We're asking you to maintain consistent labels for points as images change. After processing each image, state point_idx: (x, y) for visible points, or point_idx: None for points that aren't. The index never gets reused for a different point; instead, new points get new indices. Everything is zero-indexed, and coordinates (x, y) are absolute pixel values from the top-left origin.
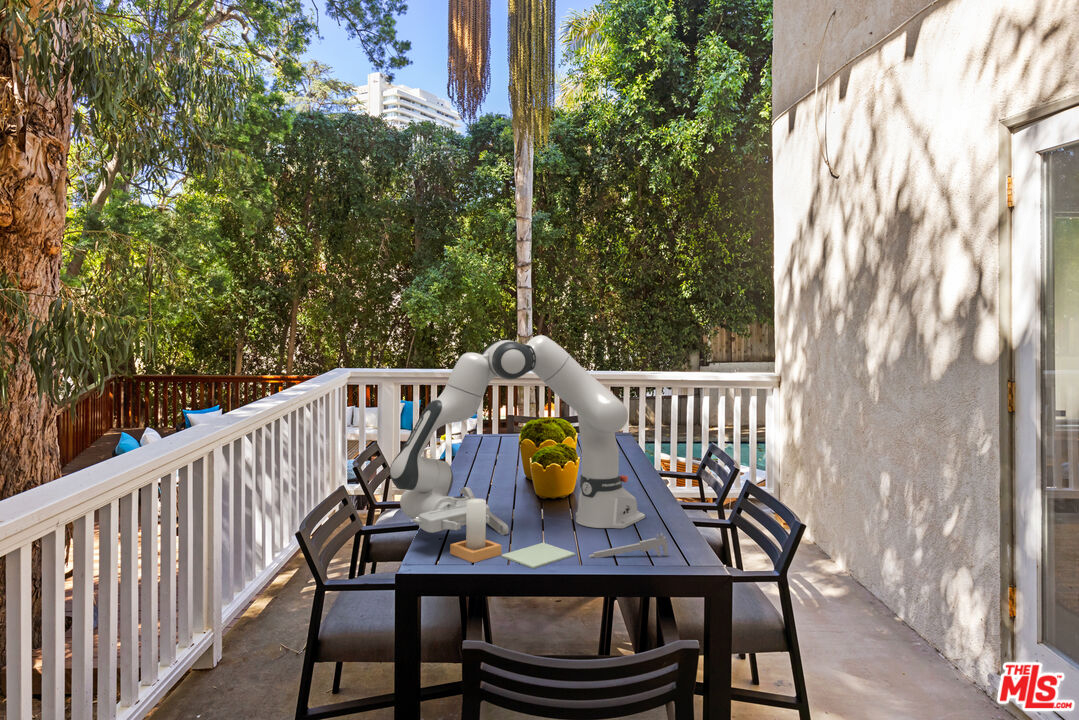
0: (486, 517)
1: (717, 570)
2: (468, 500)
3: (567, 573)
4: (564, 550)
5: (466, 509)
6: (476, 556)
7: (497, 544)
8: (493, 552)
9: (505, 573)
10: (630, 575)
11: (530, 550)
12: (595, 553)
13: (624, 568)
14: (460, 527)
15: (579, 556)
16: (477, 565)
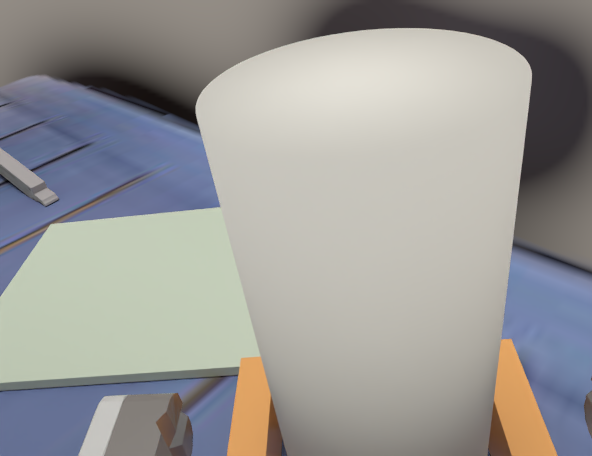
0: (151, 394)
1: (18, 82)
2: (459, 113)
3: None
4: (33, 259)
5: (508, 230)
6: None
7: (250, 380)
8: None
9: None
10: (147, 106)
11: (112, 331)
12: (42, 180)
13: (104, 129)
14: (590, 397)
15: (60, 219)
16: None
